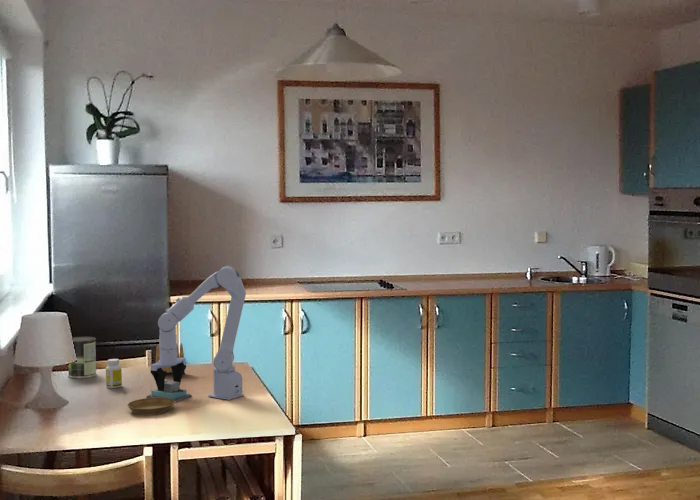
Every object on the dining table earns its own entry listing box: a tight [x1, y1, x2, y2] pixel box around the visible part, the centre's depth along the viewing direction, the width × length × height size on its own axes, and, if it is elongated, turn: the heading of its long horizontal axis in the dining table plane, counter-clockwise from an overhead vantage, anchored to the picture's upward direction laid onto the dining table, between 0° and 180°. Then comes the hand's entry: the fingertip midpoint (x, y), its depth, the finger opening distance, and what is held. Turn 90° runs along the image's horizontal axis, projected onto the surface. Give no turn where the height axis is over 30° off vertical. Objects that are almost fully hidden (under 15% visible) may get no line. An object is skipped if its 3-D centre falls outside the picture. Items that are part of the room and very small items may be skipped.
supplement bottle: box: [105, 358, 123, 389], centre depth 305 cm, size 5×5×10 cm
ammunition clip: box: [155, 342, 186, 377], centre depth 325 cm, size 11×2×12 cm, turn 107°
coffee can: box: [67, 336, 97, 379], centre depth 324 cm, size 10×10×14 cm
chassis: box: [146, 388, 193, 402], centre depth 290 cm, size 12×9×2 cm
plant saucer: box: [127, 397, 176, 416], centre depth 273 cm, size 15×15×3 cm
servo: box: [158, 378, 183, 393], centre depth 289 cm, size 11×4×5 cm, turn 57°
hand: (169, 388), depth 289 cm, fingers open, 7 cm apart
